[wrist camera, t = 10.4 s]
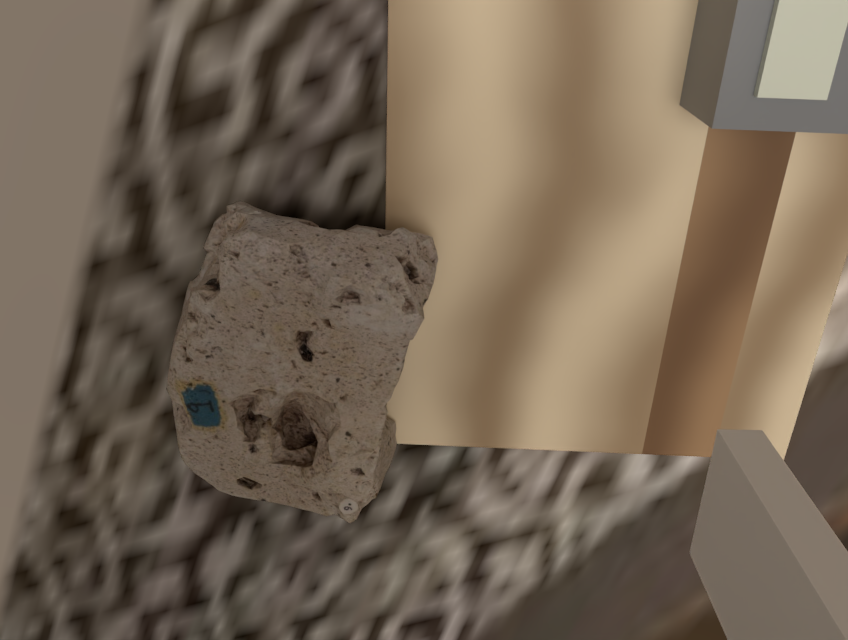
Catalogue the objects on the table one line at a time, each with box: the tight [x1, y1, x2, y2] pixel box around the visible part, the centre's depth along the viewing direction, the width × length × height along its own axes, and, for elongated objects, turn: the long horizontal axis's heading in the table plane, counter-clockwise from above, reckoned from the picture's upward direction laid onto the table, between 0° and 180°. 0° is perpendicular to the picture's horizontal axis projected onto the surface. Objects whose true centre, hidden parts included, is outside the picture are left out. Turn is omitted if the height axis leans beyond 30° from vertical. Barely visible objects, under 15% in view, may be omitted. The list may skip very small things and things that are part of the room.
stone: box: [166, 201, 438, 523], centre depth 29 cm, size 13×6×10 cm
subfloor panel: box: [385, 0, 848, 460], centre depth 28 cm, size 17×20×1 cm
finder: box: [679, 0, 848, 134], centre depth 23 cm, size 5×5×4 cm
